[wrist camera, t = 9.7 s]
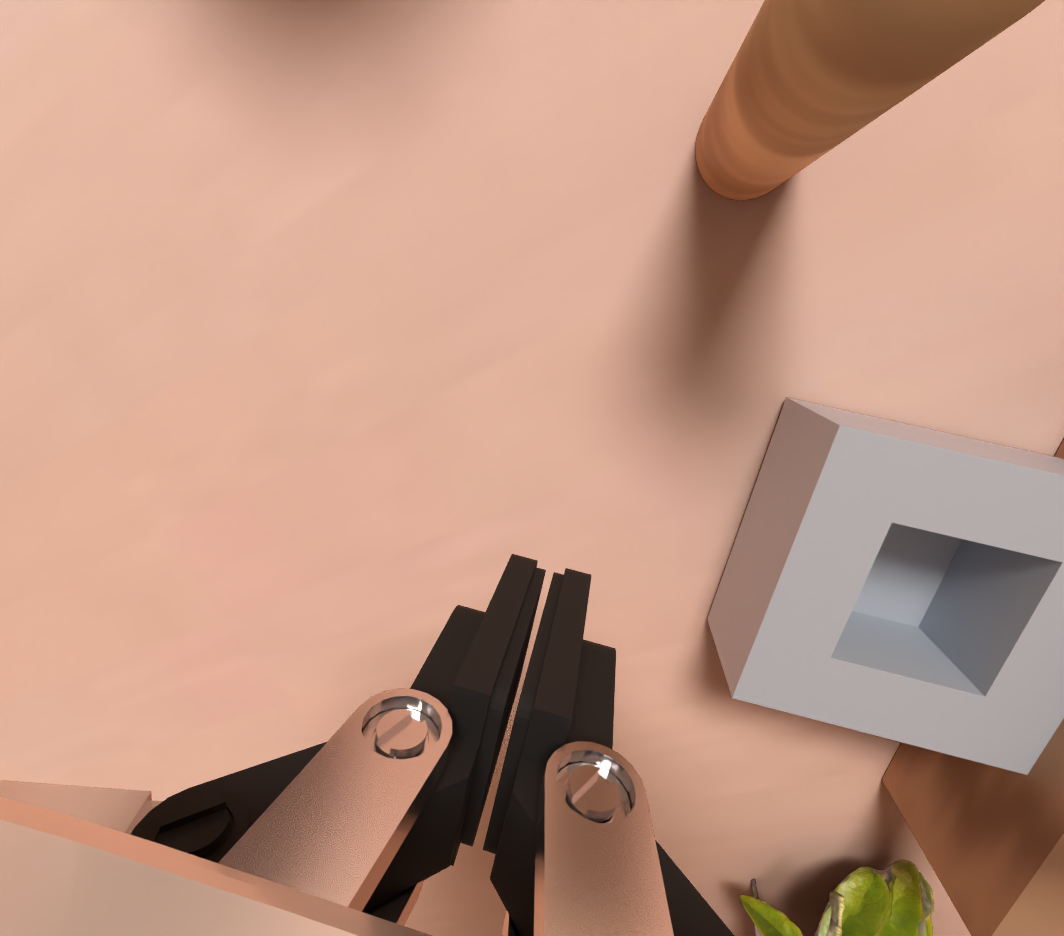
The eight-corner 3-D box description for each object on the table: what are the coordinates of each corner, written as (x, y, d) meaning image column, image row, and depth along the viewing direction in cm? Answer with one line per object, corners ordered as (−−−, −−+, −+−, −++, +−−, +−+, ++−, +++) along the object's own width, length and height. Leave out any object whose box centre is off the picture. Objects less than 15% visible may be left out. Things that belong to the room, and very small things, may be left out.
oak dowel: (712, 75, 18) (891, -313, 7) (818, 94, 18) (1188, -274, 6) (683, 189, 19) (792, 22, 8) (781, 208, 19) (1043, 66, 8)
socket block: (786, 397, 20) (839, 425, 16) (1058, 457, 20) (1200, 505, 15) (707, 618, 24) (732, 698, 19) (940, 677, 23) (1027, 775, 18)
